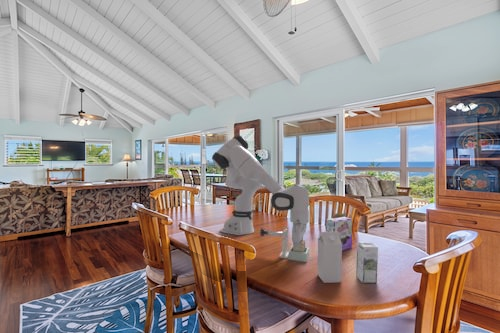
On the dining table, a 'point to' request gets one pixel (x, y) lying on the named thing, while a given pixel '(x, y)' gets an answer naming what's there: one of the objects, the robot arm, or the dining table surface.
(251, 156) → the robot arm
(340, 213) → the fruit
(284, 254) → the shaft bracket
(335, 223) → the candy box
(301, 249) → the block
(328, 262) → the milk carton
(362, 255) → the syrup box
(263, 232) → the shaft
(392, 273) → the dining table surface
